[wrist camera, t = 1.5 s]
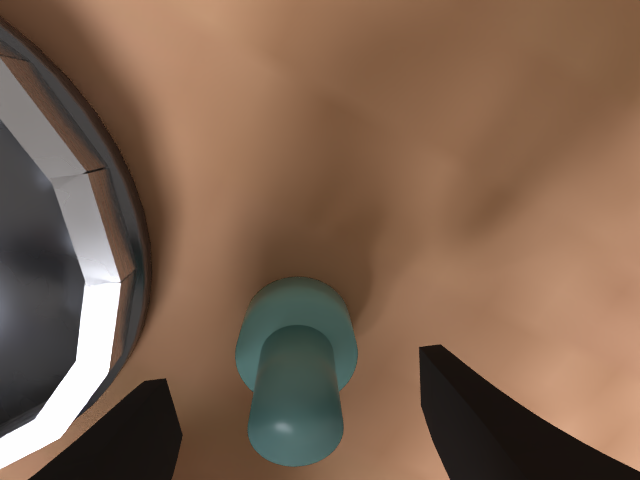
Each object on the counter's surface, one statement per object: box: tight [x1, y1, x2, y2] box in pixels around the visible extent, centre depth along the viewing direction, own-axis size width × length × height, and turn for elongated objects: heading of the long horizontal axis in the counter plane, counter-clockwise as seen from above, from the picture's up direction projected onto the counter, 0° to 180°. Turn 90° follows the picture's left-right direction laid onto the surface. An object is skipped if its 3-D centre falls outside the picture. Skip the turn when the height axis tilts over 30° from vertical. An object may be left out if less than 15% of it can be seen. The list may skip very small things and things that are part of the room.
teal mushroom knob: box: [235, 277, 358, 467], centre depth 12 cm, size 4×4×5 cm
